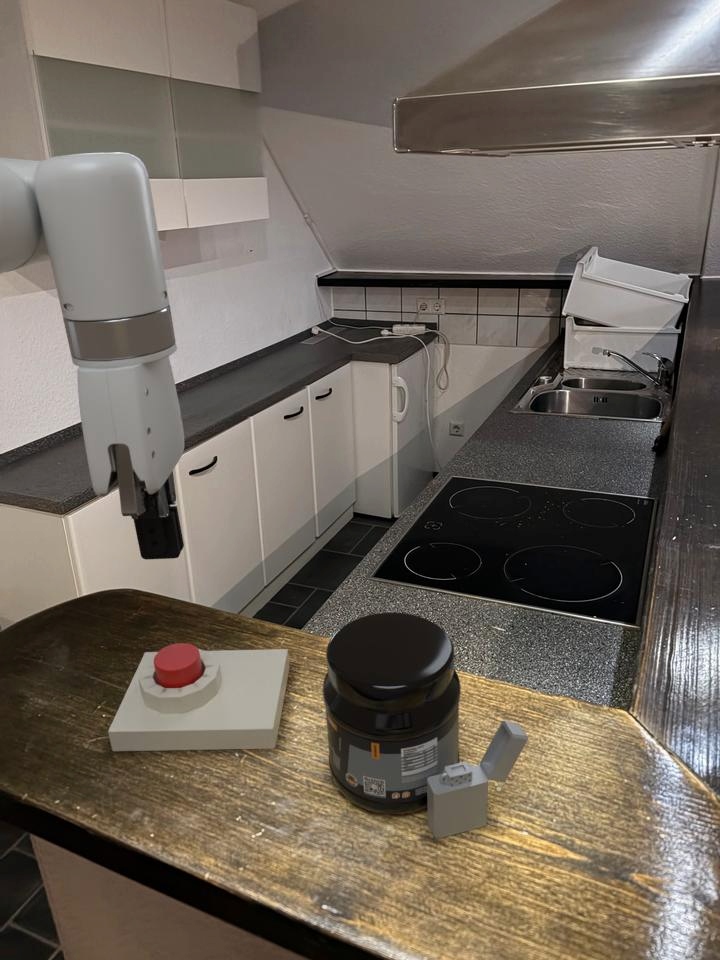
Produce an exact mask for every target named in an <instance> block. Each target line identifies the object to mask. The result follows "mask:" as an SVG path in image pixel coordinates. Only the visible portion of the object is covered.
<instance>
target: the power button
mask: <svg viewBox="0 0 720 960" xmlns="http://www.w3.org/2000/svg"><path fill="white" fill-rule="evenodd" d="M198 649H199V648H198V647H197V646H195V645H194V644H191V643H187V642H186V643H185V642H180V643H173V644H170V645H167V646H165V647H163V648H161V649H160V650H159V651H157V652H158V653H157V654H156V656H155V657H154V667H155V672H156V677H157V681H158V683H159V684H160V685H161V686H162V687H164V688H182V687H185V686H188V685H190V684H193V683H195V682H196V681H197V680H198V679H199V678H200V677H201V675H202V665H201V659H200V653H199V650H198Z"/></svg>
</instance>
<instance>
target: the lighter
mask: <svg viewBox="0 0 720 960" xmlns="http://www.w3.org/2000/svg"><path fill="white" fill-rule="evenodd" d="M528 741H529V737H528V734H527V733H526V731H525V730H524V729H523V727H522V725H521V724H520V723H519V722H513V721H508V720H501V722H500V723H499V726H498V728H497V730H496V731H495V734H494V735H493V737H492V739H491V741H490V742H489V745H488V747H487V749H486V750H485V752H484V754H483V756H482V758H481V760H480V762H479V764H474V765H470V764H469V762H468V761H467V760H466V761H461V762H459V763H457V764H453V765H449V766H445V770H444V771H443V772H442V774H439V775H435V776H431V777H428V779H427V807H426V809H427V825H428V827H429V829H430V831H431V833H432V837H433V838H434V839H436V840H439V839H443V838H446V837H450V836H454V835H458V834H462V833H465V832H468V831H472V830H477V829H479V828H483V827H486V826H487V824H488V802H489V801H488V797H489V781H493V782H501V783H505V782H506V781H507V779H508V777H509V775H510V773H511V771H512V770H513V768H514V766H515V765H516V762H517V761H518V759H519V757H520V755H521V753H522V752H523V749H524V748H525V746H526V744H527V742H528Z"/></svg>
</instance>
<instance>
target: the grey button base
mask: <svg viewBox="0 0 720 960" xmlns="http://www.w3.org/2000/svg"><path fill="white" fill-rule="evenodd" d="M198 650H199V653H200V659H201V665H202V675H201V677H200V678H199V679H198V680H197V681H196V682H195V683H193V684H190V685H188V686H185V687H182V688H164V687H162V686H161V685H160V684H159V683H158V681H157V677H156V672H155V667H154V657H155V656H156V654H157V653H158V652H159V651H145V652H144V653H143V656H142V658H141V660H140V662H139V665H138V667H137V668H136V671H135V672H134V675H133V677H132V680H131V681H130V684H129V686H128V688H127V690H126V692H125V694H124V697H123V698H122V701H121V703H120V705H119V707H118V709H117V712H116V713H115V715H114V718H113V720H112V722H111V723H110V726H109V728H108V731H107V734H108V737H109V742H110V746H111V751H112V752H154V751H155V752H157V751H159V752H161V751H162V752H163V751H164V752H165V751H215V750H219V751H221V750H223V751H224V750H271V749H272V750H275V749H276V747H277V742H278V736H279V729H280V723H281V720H282V719H281V718H282V714H283V713H282V712H283V707H284V701H285V695H286V690H287V685H288V680H289V673H290V667H291V666H290V657H289V649H288V648H276V649H274V648H273V649H271V648H270V649H232V650H231V649H230V650H229V649H226V650H204V649H202V648H201V649H200V648H198Z"/></svg>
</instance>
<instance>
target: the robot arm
mask: <svg viewBox="0 0 720 960" xmlns="http://www.w3.org/2000/svg"><path fill="white" fill-rule="evenodd" d="M46 261H50V265H51V270H52V274H53V279H54V283H55V287H56V292H57V296H58V297H57V298H58V300H59V305H60V309H61V313H62V320H63V325H64V328H65V333H66V339H67V344H68V347H69V352H70V357H71V361H72V364H73V365H75V366H77V367H78V368H77V370H76V371H77V375H76V376H77V394H78V405H79V406H78V407H79V414H80V415H79V416H80V421H81V429H82V435H83V441H84V447H85V453H86V458H87V459H86V460H87V465H88V471H89V476H90V480H91V486H92V489H93V492H94V494H95V495H96V496H98V497H100V498H104V497H106V496H108V495H109V494H110V492H111V491H112V490H113V489H114V488H115V486H116V485H117V484H118V485H117V486H118V492H119V493H118V494H119V495H118V496H119V502H120V503H119V504H120V511H121V515H122V517H131V519H132V520H133V523H134V529H135V533H136V539H137V544H138V548H139V553H140V557H141V558H142V559H143V560H167V559H171V560H172V559H178V558H179V557H180V555H181V554H182V553H181V552H182V551H183V549H184V546H185V543H184V537H183V532H182V526H181V520H180V516H179V508H178V505H176V503H177V493H176V485H175V484H176V483H175V476H174V469H175V468H176V466H177V465H178V463H179V461H180V459H181V457H182V456H183V453H184V451H185V446H186V445H185V431H184V423H183V418H182V412H181V407H180V401H179V397H178V396H179V395H178V391H177V386H176V382H175V377H174V373H173V368H172V365H171V361H170V356H172V355H173V354H174V353H176V352H177V349H178V348H177V347H178V346H177V341H176V336H175V329H174V322H173V317H172V311H171V310H172V309H171V306H170V298H169V293H168V286H167V280H166V274H165V268H164V261H163V255H162V249H161V241H160V236H159V229H158V224H157V219H156V211H155V204H154V199H153V191H152V187H151V182H150V178H149V173H148V170H147V168H146V166H145V164H144V162H143V161H142V160H141V159H140V158H139V157H137V156H136V155H134V154H131V153H128V152H119V151H117V152H115V151H113V152H90V153H75V154H65V155H56V156H52V157H47V158H45V159H43V160H36V159H35V160H33V159H22V158H10V157H0V275H1V274H2V275H3V274H4V273H9V272H12V271H15V270H19V269H22V268H25V267H28V266H30V265H35V264H37V263H38V264H39V263H42V262H46Z"/></svg>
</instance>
